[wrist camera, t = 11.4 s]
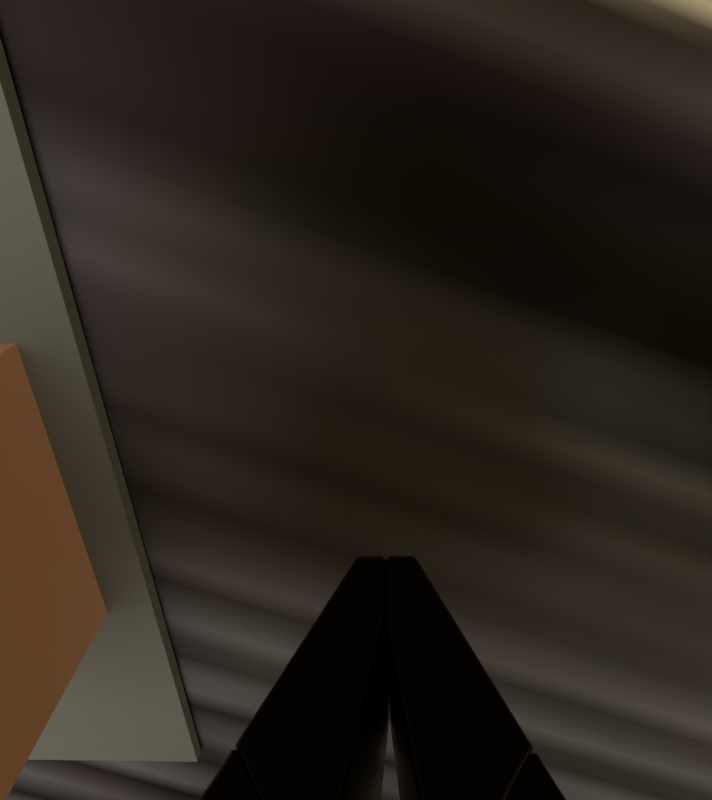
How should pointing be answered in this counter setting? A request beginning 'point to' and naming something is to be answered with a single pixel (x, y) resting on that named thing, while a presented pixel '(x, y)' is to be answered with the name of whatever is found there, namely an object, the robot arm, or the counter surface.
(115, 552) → the grey panel
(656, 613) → the counter surface
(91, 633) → the block
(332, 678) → the robot arm
